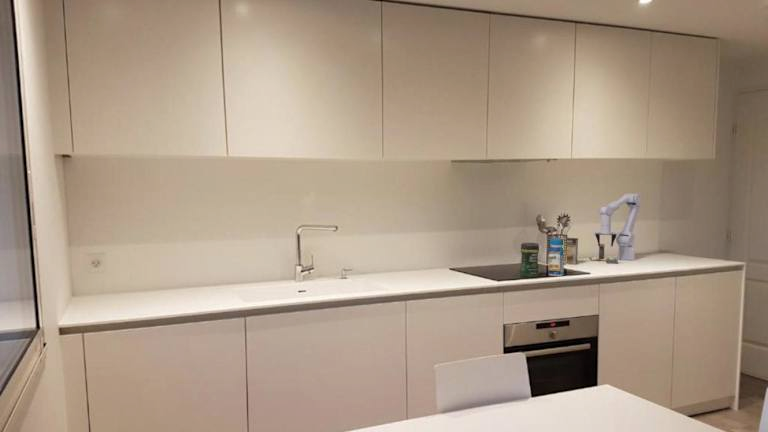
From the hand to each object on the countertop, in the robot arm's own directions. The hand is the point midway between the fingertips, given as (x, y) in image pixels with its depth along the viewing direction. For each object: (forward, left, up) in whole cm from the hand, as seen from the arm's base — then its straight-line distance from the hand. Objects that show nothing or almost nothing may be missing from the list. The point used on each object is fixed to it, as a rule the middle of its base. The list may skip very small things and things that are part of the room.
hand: (605, 246), depth 338 cm
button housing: (-3, +7, -10) cm, 12 cm away
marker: (+2, -4, -9) cm, 10 cm away
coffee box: (+23, +16, -10) cm, 30 cm away
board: (+3, -4, -10) cm, 11 cm away
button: (-3, +7, -10) cm, 12 cm away
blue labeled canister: (+32, +61, -10) cm, 69 cm away
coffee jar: (+46, +69, -10) cm, 83 cm away
